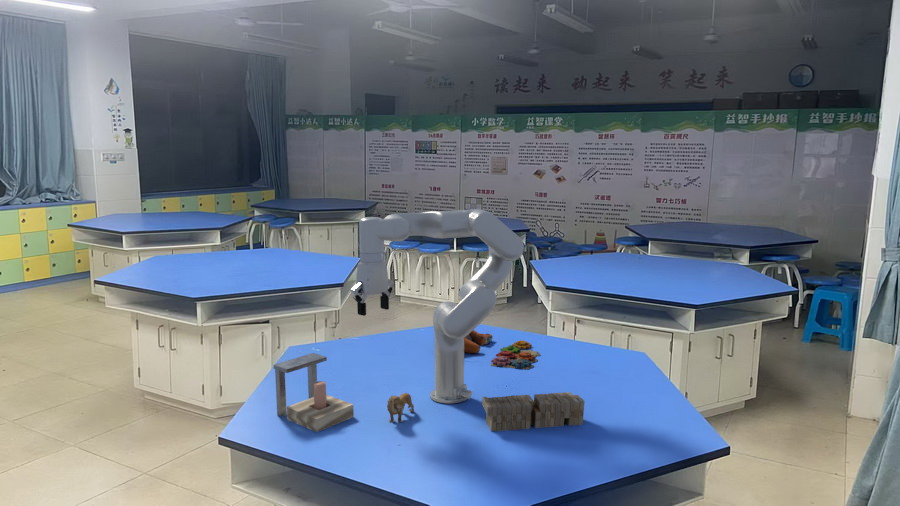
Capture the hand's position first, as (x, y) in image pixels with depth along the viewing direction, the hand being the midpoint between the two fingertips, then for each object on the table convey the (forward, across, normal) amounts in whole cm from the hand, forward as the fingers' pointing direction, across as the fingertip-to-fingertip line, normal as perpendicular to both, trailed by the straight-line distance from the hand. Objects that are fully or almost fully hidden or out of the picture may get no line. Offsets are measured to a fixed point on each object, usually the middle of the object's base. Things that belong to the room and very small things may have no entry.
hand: (373, 311), depth 201 cm
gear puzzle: (+31, -70, +8) cm, 77 cm away
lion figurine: (+31, +2, +14) cm, 34 cm away
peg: (+30, +18, -5) cm, 36 cm away
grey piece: (+30, +18, -14) cm, 38 cm away
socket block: (+30, +18, -5) cm, 36 cm away
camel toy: (+31, -66, -15) cm, 74 cm away
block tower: (+31, -20, +46) cm, 59 cm away
